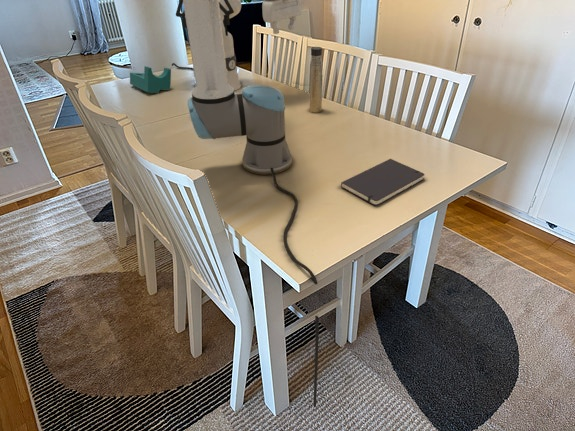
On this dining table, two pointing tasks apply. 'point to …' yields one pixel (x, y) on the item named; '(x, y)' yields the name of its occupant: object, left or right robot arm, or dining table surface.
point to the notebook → (382, 181)
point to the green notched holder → (151, 80)
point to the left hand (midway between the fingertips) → (283, 31)
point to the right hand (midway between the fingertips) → (208, 36)
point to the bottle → (316, 84)
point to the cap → (316, 51)
